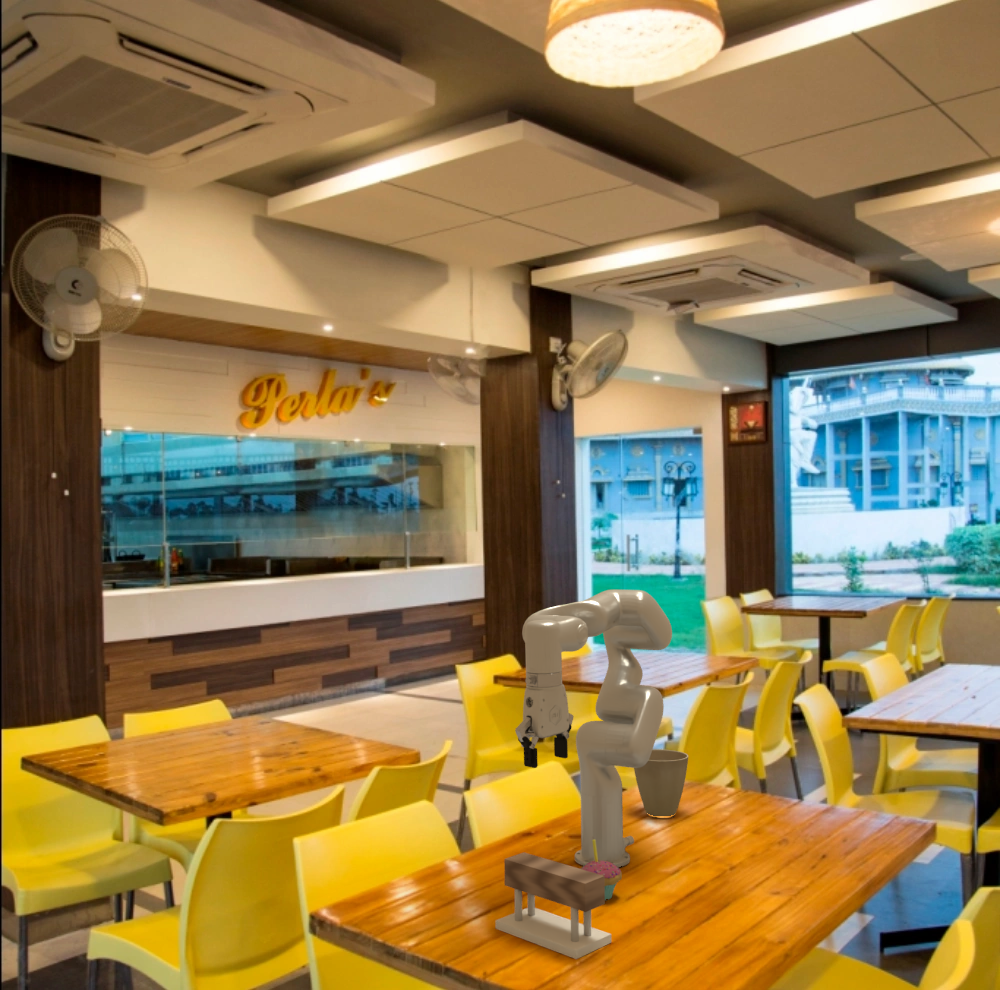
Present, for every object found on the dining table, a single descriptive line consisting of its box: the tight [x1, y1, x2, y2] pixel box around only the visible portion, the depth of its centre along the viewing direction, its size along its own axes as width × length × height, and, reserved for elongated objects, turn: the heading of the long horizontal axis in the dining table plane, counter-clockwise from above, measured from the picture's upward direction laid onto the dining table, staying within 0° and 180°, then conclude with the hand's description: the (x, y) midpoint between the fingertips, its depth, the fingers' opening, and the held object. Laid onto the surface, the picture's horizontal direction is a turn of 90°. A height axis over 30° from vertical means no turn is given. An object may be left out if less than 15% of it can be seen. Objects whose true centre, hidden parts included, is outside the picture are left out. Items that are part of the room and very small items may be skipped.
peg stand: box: [495, 889, 612, 960], centre depth 186 cm, size 20×10×8 cm, turn 46°
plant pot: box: [633, 749, 689, 816], centre depth 266 cm, size 15×15×16 cm
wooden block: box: [504, 852, 606, 912], centre depth 187 cm, size 20×6×5 cm, turn 46°
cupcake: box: [580, 837, 623, 901], centre depth 206 cm, size 9×8×12 cm
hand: (546, 761), depth 208 cm, fingers open, 9 cm apart
